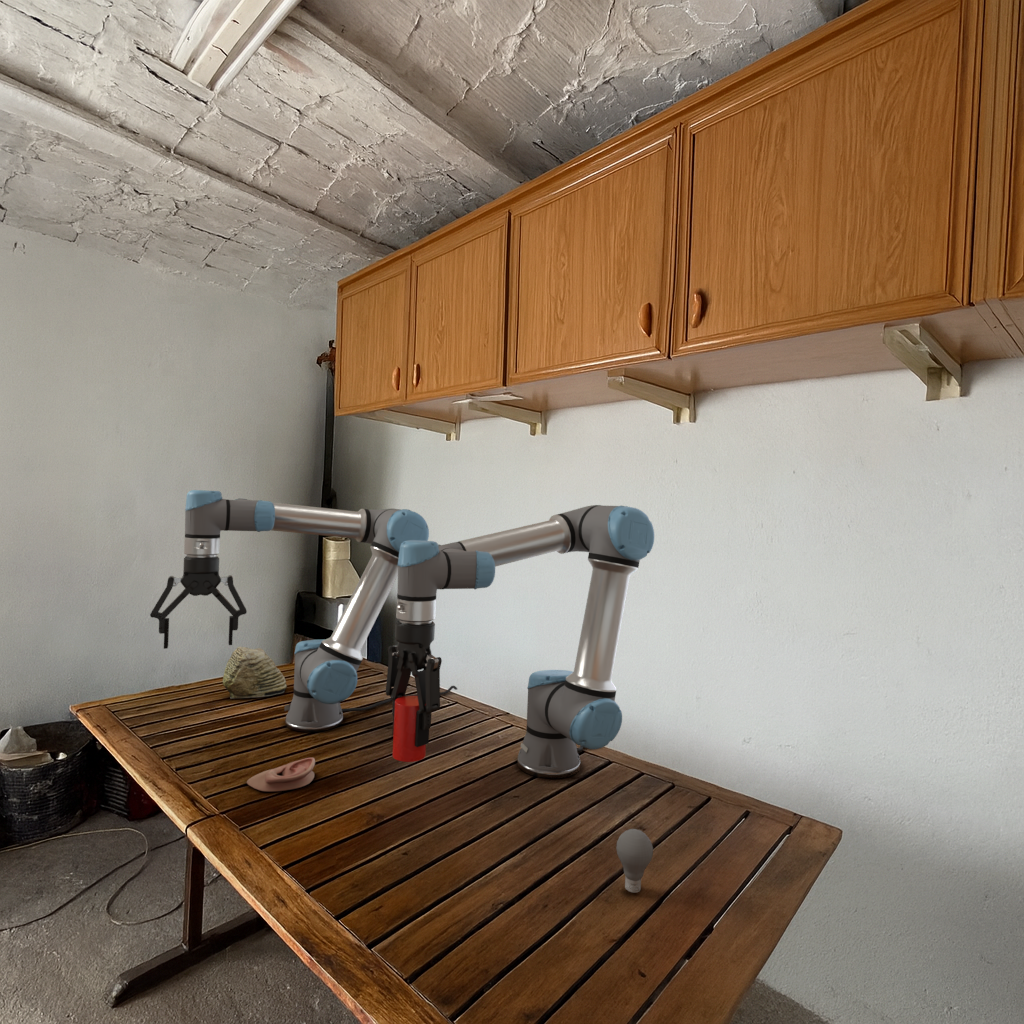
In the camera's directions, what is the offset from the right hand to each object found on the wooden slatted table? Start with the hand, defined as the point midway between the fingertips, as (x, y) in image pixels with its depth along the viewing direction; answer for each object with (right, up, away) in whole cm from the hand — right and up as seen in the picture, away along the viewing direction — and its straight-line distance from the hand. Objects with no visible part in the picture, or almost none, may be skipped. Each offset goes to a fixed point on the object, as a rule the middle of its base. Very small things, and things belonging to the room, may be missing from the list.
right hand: (410, 739), depth 122 cm
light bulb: (+40, -19, -17) cm, 47 cm away
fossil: (-61, -13, +76) cm, 98 cm away
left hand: (-54, +12, +27) cm, 62 cm away
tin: (0, -3, 0) cm, 3 cm away
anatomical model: (-31, -16, +18) cm, 39 cm away
